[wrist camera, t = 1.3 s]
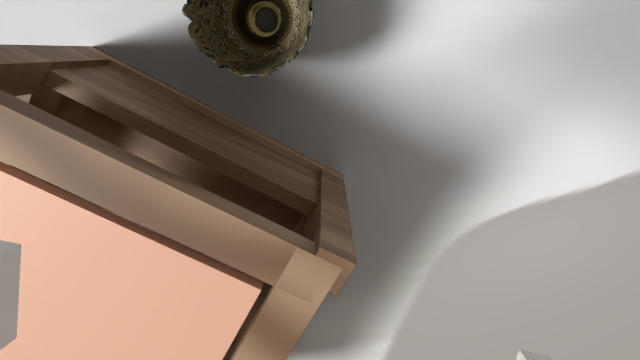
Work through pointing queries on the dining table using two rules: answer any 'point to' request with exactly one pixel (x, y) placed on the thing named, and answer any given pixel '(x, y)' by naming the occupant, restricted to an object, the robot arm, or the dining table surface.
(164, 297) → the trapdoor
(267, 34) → the cup
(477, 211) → the dining table surface
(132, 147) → the wooden slatted crate
